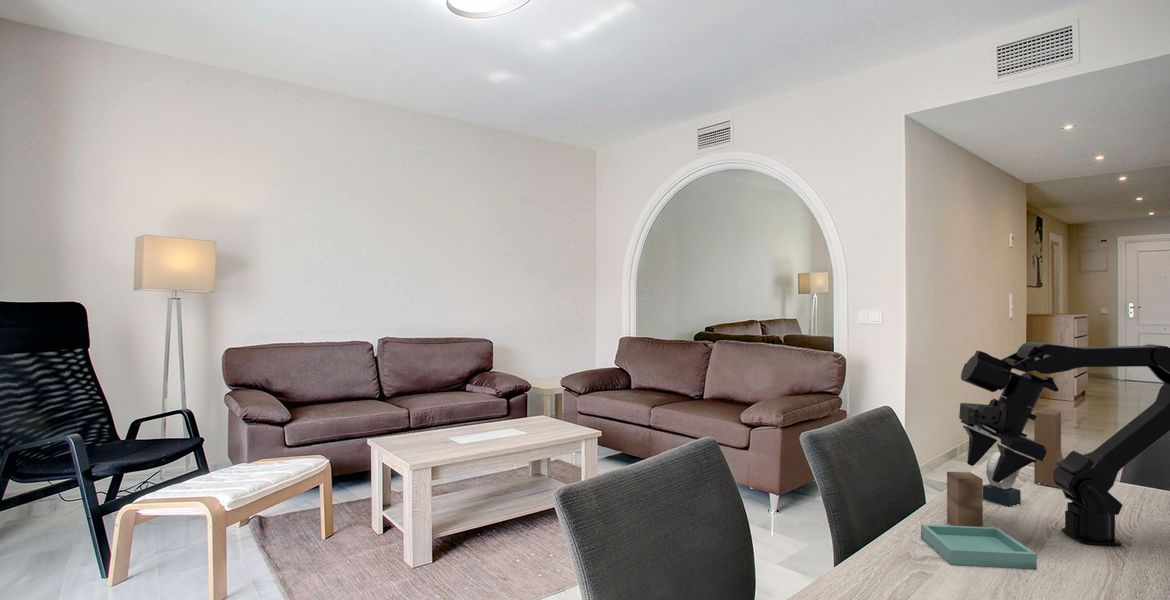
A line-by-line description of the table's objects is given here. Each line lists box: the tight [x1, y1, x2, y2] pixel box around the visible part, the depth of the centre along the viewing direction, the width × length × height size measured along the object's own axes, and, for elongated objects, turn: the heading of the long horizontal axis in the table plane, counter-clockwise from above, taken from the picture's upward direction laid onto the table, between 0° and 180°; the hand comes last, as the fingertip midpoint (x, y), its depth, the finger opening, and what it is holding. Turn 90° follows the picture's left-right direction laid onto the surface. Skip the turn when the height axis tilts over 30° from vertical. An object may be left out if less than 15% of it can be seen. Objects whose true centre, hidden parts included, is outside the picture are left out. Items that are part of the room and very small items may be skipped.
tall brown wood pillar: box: [946, 471, 984, 527], centre depth 117 cm, size 4×4×10 cm
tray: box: [920, 523, 1038, 570], centre depth 105 cm, size 14×12×2 cm
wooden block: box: [1033, 409, 1065, 488], centre depth 142 cm, size 9×4×18 cm, turn 39°
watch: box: [983, 451, 1022, 508], centre depth 131 cm, size 6×8×11 cm
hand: (982, 472), depth 116 cm, fingers open, 9 cm apart
